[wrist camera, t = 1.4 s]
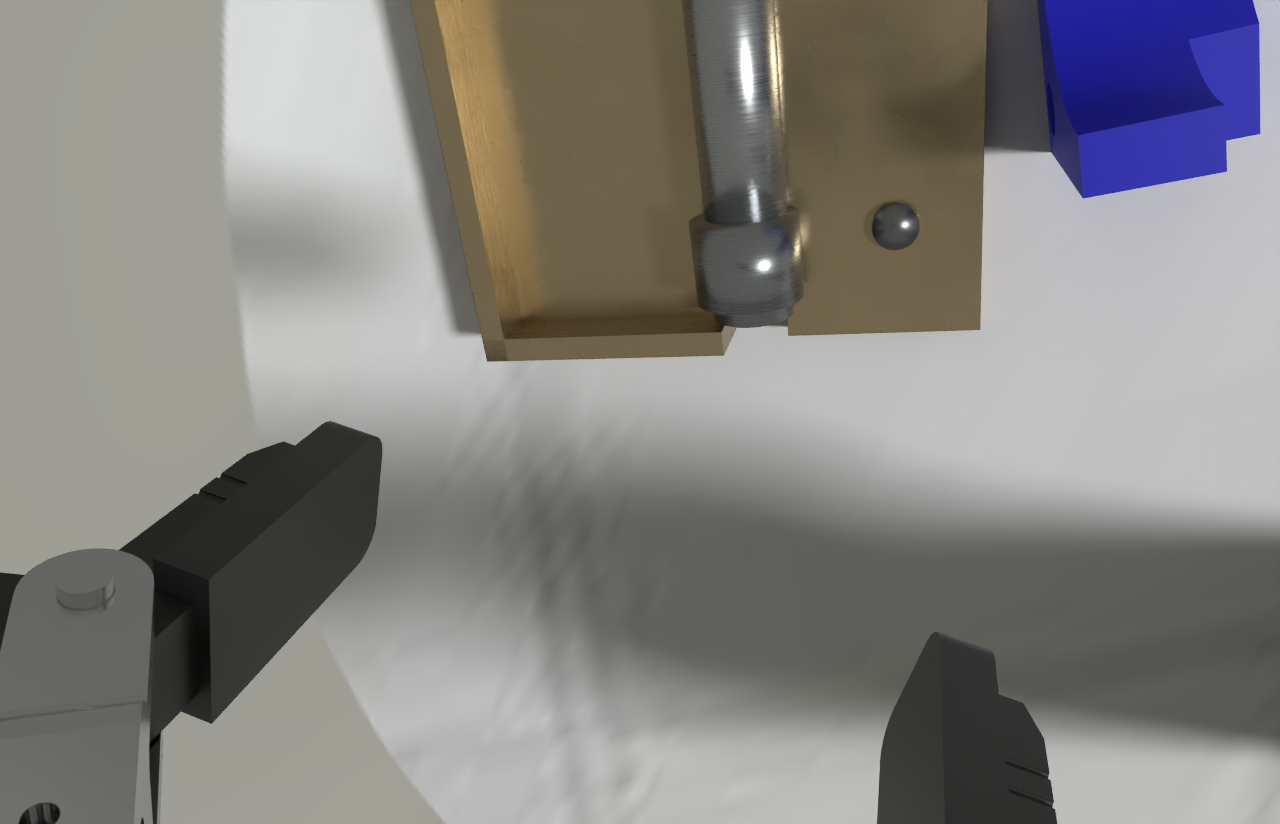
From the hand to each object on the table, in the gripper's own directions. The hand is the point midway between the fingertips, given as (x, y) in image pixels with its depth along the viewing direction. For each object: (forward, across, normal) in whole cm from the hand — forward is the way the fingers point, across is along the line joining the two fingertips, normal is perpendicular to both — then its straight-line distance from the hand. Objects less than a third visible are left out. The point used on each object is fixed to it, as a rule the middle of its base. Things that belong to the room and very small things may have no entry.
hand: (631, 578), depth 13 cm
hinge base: (+20, +4, -4) cm, 20 cm away
